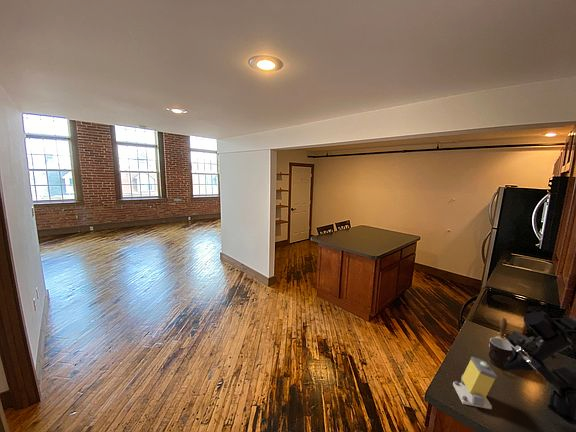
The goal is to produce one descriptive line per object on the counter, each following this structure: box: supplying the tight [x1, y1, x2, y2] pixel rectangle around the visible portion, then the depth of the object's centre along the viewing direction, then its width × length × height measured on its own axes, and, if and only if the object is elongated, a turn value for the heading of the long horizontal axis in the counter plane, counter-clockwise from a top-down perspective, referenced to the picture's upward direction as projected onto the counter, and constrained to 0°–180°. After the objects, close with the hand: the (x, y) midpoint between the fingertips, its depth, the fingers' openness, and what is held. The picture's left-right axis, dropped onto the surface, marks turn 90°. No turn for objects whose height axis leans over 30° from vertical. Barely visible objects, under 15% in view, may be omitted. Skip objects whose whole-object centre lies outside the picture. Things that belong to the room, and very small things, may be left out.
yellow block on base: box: [462, 356, 498, 399], centre depth 92 cm, size 5×8×13 cm, turn 166°
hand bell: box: [488, 317, 508, 348], centre depth 119 cm, size 8×8×16 cm
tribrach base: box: [452, 374, 493, 410], centre depth 94 cm, size 9×11×4 cm
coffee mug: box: [488, 337, 514, 371], centre depth 110 cm, size 12×9×10 cm
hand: (505, 368), depth 90 cm, fingers closed
